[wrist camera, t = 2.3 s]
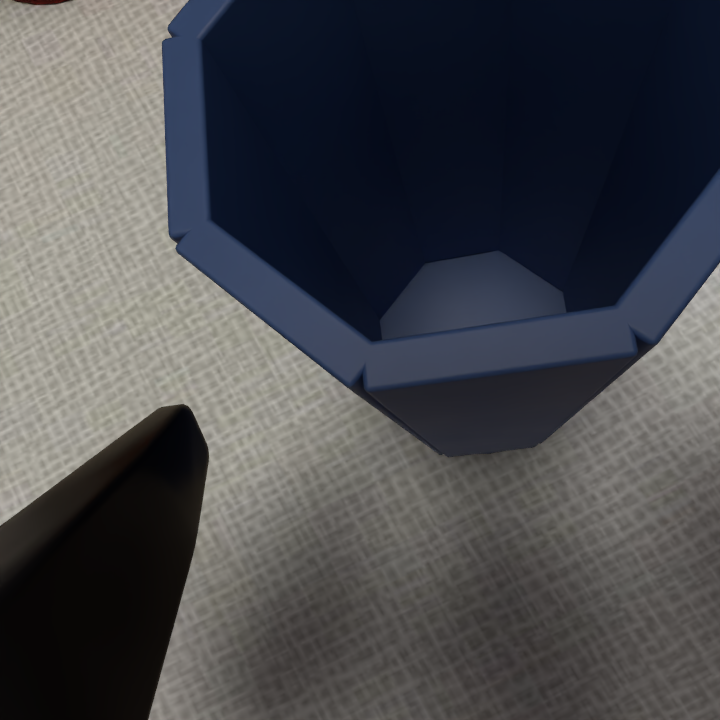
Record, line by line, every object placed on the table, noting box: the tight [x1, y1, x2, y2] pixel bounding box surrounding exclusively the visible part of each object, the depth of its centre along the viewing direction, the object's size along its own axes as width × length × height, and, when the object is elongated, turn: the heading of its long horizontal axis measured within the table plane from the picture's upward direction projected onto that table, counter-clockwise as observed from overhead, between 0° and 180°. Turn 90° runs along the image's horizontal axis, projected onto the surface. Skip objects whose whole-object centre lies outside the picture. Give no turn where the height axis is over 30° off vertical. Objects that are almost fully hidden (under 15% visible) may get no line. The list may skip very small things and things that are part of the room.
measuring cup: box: [162, 0, 720, 457], centre depth 13 cm, size 11×6×13 cm, turn 6°
